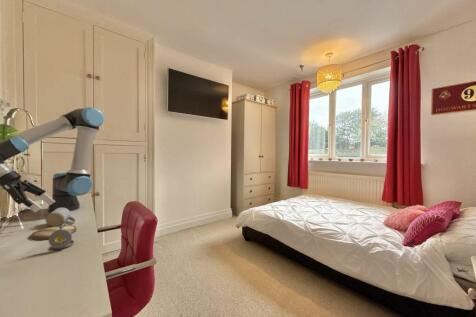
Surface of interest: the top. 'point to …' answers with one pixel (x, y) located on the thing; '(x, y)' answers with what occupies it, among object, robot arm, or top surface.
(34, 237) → the brown round plate
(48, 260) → the top surface
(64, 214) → the ceramic mug
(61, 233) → the pocket watch
